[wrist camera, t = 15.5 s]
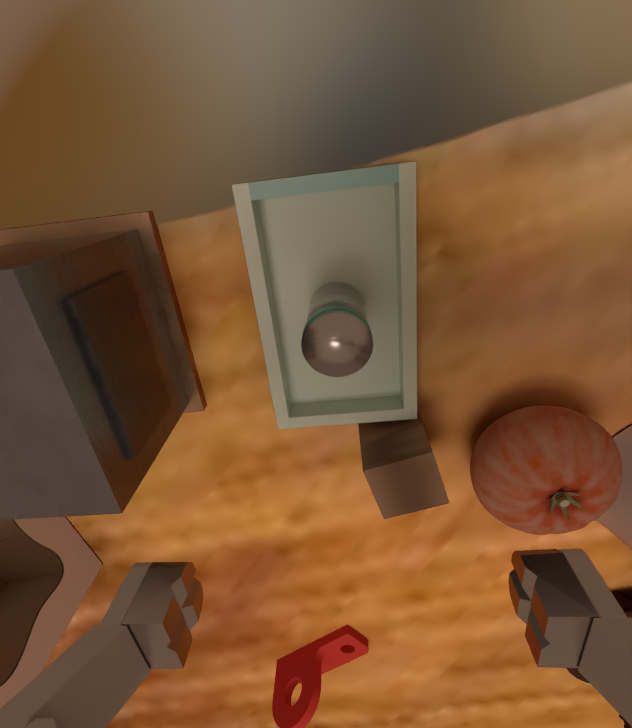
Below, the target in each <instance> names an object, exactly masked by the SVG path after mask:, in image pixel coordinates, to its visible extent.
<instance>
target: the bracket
mask: <svg viewBox="0 0 632 728" xmlns="http://www.w3.org/2000/svg"><path fill="white" fill-rule="evenodd" d="M367 652H368V640H367V638H366V637H364V636H363V635H361V634H360V633H359V632H357V631H356V630H354V629H353V628H352V627H350V626H349V625H346V626H344V627H342V628H340V629H338V630H336V631H334V632H332V633H330V634H328V635H326V636H324V637H322V638H320V639H318V640H316V641H314V642H312V643H310V644H308V645H306V646H304V647H302V648H300V649H298V650H296V651H294V652H292V653H290V654H288V655H286V656H284V657H282V658H280V659H278V660H277V667H276V676H275V685H274V694H273V704H272V710H273V717H274V720H275V722H276V724H277V725H278V726H279V727H280V728H304V727H305V726H306V725H307V724H308V723H309V721H310V720H311V718H312V717H313V715H314V713H315V711H316V708H317V705H318V702H319V698H320V692H321V674H323V673H325V672H328V671H330V670H332V669H334V668H336V667H338V666H341V665H343V664H345V663H347V662H349V661H351V660H354V659H356V658H358V657H360V656H362V655H364V654H366V653H367ZM298 683H300V684H302V691H301V695H300V697H299V699H298V701H297V702H296V704H295V705H293V706H291V696H292V692H293V690H294V688H295V686H296V685H297V684H298Z"/></svg>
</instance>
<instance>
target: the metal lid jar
mask: <svg viewBox="0 0 632 728" xmlns="http://www.w3.org/2000/svg"><path fill="white" fill-rule="evenodd" d="M301 348H302V353H303V356H304V358H305V360H306V361H307V363H308V364H309V365H310V366H311V367H312V368H313V369H314V370H316V371H317V372H319V373H321V374H323V375H326V376H330V377H344V376H348V375H351V374H353V373H355V372H357V371H359V370H360V369H361V368H362V367H364V365H365V364H366V363H367V362H368V360H369V359H370V356H371V354H372V350H373V337H372V333H371V329H370V326H369V323H368V321H367V317H366V312H365V308H364V303H363V299H362V297H361V295H360V293H359V292H358V291H357V290H356V289H355V288H354V287H352V286H351V285H349V284H347V283H343V282H331V283H327V284H325V285H323V286H321V287H320V288H319V289H318V290H317V291H316V292H315V293H314V295H313V296H312V299H311V302H310V306H309V312H308V317H307V322H306V324H305V327H304V330H303V335H302V341H301Z"/></svg>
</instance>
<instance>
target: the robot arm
mask: <svg viewBox="0 0 632 728" xmlns="http://www.w3.org/2000/svg"><path fill="white" fill-rule="evenodd" d="M613 439H614V441H615V443H616V445H617V447H618V450H619V453H620V456H621V461H622V467H623V479H622V483H621V485H620V489H619V493H618V496H617V498H616V500H615V502H614V503H613V505H612V506H611V507H610V508H609V509H608V510H607V511H606V512H605V513H604V514H603V515H602V516H600V517H599V518H597V519H595V520H596V521H598V522H599V523H600V524H602V525H603V526H604V527H606V528H607V529H608V530H609V531H611V532H612V533H613V534H614V535H615V536H617V537H618V538H619V539H620V540H621V541H622V542H623V543H625V544H626V545H627V546H628V547H629V548H630V549H631V550H632V426H630V427H628V428H627V429H625V430H623V431H622V432H620V433H619V434H618V435H616V436H615V437H614V438H613ZM511 562H512V564H513V566H514V570H513V571H512V572H510V573H509V590H510V596H511V600H512V603H513V606H514V609H515V611H516V614H517V616H518V617H519V618H520V619H521V620H523V621H524V622H525V623H526V624H527V626H526V632H525V637H526V639H527V642H528V644H529V647H530V649H531V652H532V654H533V657H534V659H535V662H536V664H537V667H556V668H578V671H579V672H580V673H581V674H582V675H583V676H584V677H585V678H586V679H587V680H588V681H589V682H590V683H591V685H592V686H593V687H594V688H595V689H596V690H597V691H598V692H599V693H600V694H601V695H602V696H603V697H604V698H605V699H606V700H607V701H608V702H609V703H610V704H611V705H612V706H613V707H614V709H615V710H616V711H617V712H618V713H619V714H620V715H621V716H622V717H623V718H624V719H625V720H626V721H627V722H628V723H629V724H630V725H631V726H632V618H630V617H627V616H626V614H625V613H624V611H623V610H622V608H621V606H620V605H619V603H618V602H617V600H616V599H615V597H614V596H613V594H612V592H611V591H610V589H609V588H608V586H607V585H606V583H605V582H604V580H603V579H602V577H601V575H600V574H599V572H598V571H597V569H596V568H595V566H594V565H593V563H592V561H591V560H590V558H589V557H588V555H587V554H586V552H584V551H583V550H582V549H559V550H557V549H543V550H522V551H514V552H513V554H512V559H511ZM195 572H196V569H195V567H194V564H193V562H145V563H135V564H134V565H133V566H132V567H131V568H130V569H129V571H128V573H127V575H126V577H125V579H124V581H123V583H122V585H121V586H120V588H119V590H118V592H117V594H116V596H115V598H114V600H113V602H112V603H111V605H110V607H109V609H108V611H107V613H106V615H105V617H104V619H103V621H102V622H101V624H100V626H94V627H92V628H91V629H90V630H89V631H88V632H87V633H86V634H84V635H83V636H82V637H81V638H80V639H79V640H78V641H76V642H75V643H74V644H73V645H72V646H71V647H70V648H68V649H67V650H66V651H65V652H64V653H63V654H62V655H60V656H59V657H58V658H57V659H56V660H55V661H54V662H53V663H51V664H50V665H49V666H48V667H47V668H46V669H45V670H43V671H42V672H41V673H40V674H39V675H38V676H37V677H35V678H34V679H33V680H32V681H31V682H30V683H29V684H27V685H26V686H25V687H24V688H23V689H22V690H21V691H19V692H18V693H17V694H16V695H15V696H14V697H13V698H11V699H10V700H9V701H8V702H7V703H6V704H5V705H3V706H2V707H1V708H0V728H106V727H107V726H108V724H109V723H110V722H111V721H112V719H113V718H114V717H115V716H116V714H117V713H118V712H119V711H120V709H121V708H122V707H123V706H124V704H125V703H126V702H127V701H128V699H129V698H130V697H131V696H132V694H133V693H134V692H135V691H136V690H137V688H138V687H139V686H140V685H141V683H142V682H143V681H144V680H145V678H146V677H147V676H148V675H149V673H150V672H151V671H150V670H151V669H179V668H184V665H185V662H186V659H187V656H188V653H189V650H190V646H191V643H192V640H193V639H192V635H191V632H190V629H191V628H192V627H193V626H194V625H195V624H196V623H197V622H198V621H199V617H200V614H201V611H202V604H203V588H202V585H201V582H200V581H199V580H197V579H196V578H195V577H194V575H195Z"/></svg>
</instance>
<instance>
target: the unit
mask: <svg viewBox="0 0 632 728" xmlns="http://www.w3.org/2000/svg"><path fill="white" fill-rule="evenodd" d="M205 408H206V402H205V399H204V395H203V391H202V388H201V384H200V380H199V377H198V373H197V370H196V366H195V362H194V359H193V355H192V352H191V348H190V344H189V341H188V337H187V334H186V330H185V326H184V323H183V319H182V316H181V312H180V308H179V305H178V301H177V298H176V294H175V290H174V287H173V283H172V280H171V276H170V272H169V269H168V265H167V261H166V258H165V254H164V251H163V247H162V243H161V240H160V236H159V233H158V229H157V225H156V222H155V218H154V215H153V211H146V212H137V213H129V214H122V215H113V216H105V217H97V218H89V219H81V220H73V221H65V222H56V223H49V224H40V225H32V226H24V227H16V228H8V229H0V520H14V519H31V518H48V517H66V516H83V515H100V514H118V513H123V511H124V509H125V508H126V506H127V504H128V503H129V501H130V499H131V498H132V496H133V495H134V493H135V491H136V490H137V488H138V486H139V485H140V483H141V481H142V480H143V478H144V476H145V475H146V473H147V471H148V470H149V468H150V467H151V465H152V463H153V462H154V460H155V458H156V457H157V455H158V453H159V452H160V450H161V448H162V447H163V445H164V443H165V442H166V440H167V438H168V437H169V435H170V434H171V432H172V430H173V429H174V427H175V425H176V424H177V422H178V420H179V419H180V417H181V415H182V414H183V413H187V412H199V411H204V410H205Z"/></svg>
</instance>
